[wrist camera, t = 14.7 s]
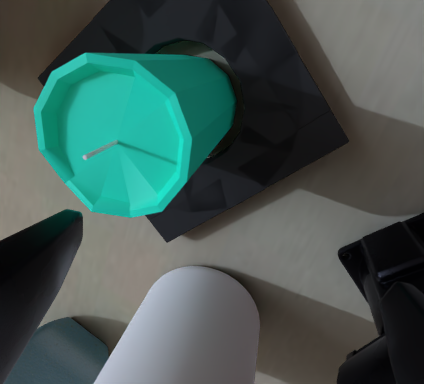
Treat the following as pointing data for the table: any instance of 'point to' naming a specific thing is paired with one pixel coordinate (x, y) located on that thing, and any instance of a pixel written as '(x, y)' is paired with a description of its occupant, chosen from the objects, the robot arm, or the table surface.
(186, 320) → the wine bottle
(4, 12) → the table surface
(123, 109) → the candle
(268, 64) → the candle pad
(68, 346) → the flower pot
